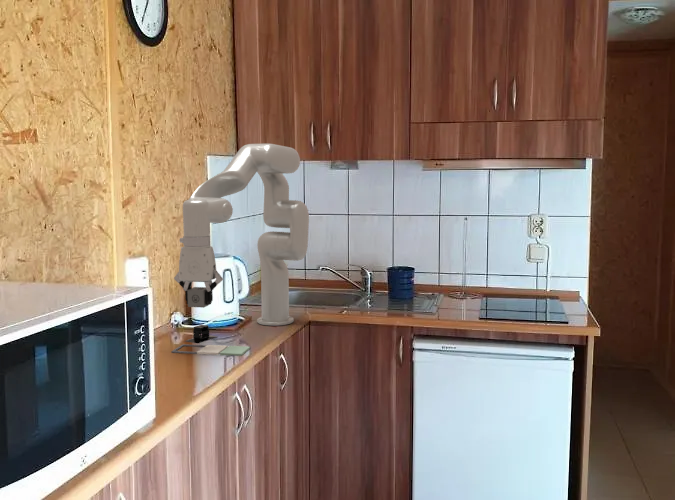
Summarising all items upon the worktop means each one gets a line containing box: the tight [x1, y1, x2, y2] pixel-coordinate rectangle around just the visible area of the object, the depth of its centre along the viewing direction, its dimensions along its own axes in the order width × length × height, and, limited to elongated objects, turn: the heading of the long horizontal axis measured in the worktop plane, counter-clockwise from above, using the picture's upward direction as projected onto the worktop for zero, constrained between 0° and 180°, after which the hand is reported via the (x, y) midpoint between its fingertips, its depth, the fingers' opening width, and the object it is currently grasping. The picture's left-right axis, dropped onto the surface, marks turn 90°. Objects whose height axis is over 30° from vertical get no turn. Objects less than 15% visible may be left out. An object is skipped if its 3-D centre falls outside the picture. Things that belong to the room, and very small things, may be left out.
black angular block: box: [184, 324, 219, 344], centre depth 218 cm, size 12×7×5 cm, turn 149°
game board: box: [171, 343, 251, 357], centre depth 204 cm, size 8×21×1 cm, turn 80°
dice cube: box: [187, 286, 211, 308], centre depth 203 cm, size 5×5×5 cm
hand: (199, 303), depth 203 cm, fingers closed on dice cube, 5 cm apart
